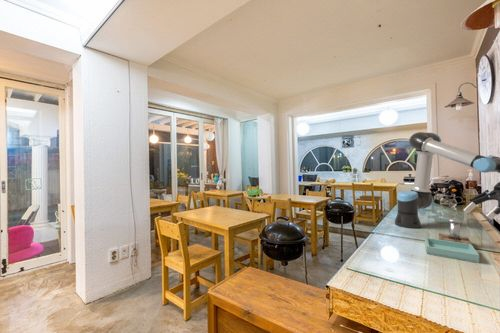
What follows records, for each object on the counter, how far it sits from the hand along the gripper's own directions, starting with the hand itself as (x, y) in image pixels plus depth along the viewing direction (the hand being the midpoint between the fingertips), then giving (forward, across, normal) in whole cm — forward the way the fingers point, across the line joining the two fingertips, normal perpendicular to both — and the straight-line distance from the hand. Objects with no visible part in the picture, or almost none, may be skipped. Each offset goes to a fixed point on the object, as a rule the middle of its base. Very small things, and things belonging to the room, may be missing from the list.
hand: (476, 214), depth 121 cm
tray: (+27, -13, +5) cm, 30 cm away
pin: (+19, 0, -4) cm, 19 cm away
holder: (+19, 0, -4) cm, 19 cm away
